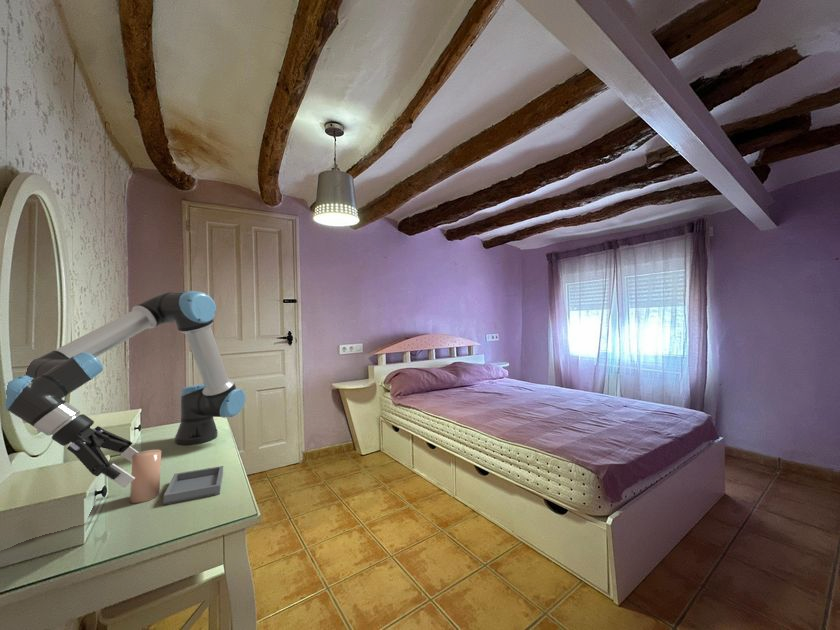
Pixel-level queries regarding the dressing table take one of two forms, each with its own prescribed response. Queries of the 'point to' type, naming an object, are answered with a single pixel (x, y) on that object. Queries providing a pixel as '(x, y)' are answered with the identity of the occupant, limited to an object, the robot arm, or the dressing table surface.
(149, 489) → the peach domed cylinder
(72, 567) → the dressing table surface
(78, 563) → the dressing table surface
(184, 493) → the tray
